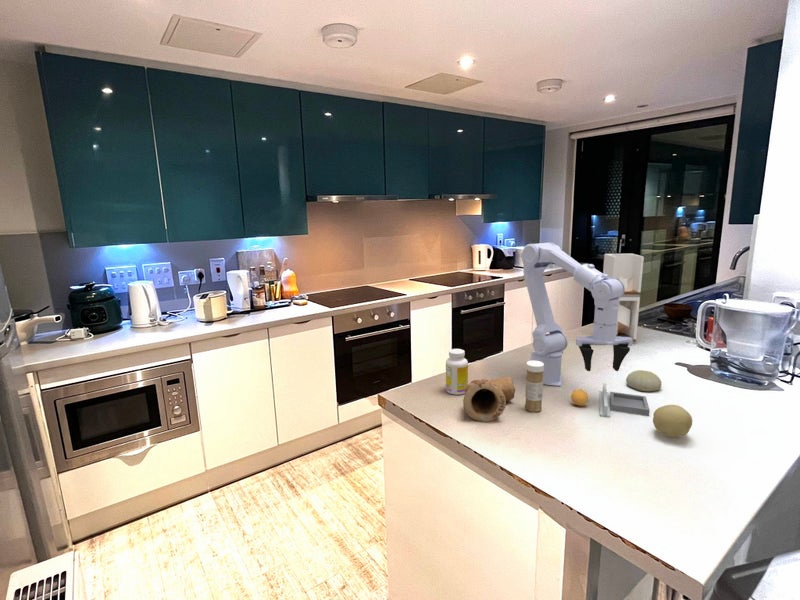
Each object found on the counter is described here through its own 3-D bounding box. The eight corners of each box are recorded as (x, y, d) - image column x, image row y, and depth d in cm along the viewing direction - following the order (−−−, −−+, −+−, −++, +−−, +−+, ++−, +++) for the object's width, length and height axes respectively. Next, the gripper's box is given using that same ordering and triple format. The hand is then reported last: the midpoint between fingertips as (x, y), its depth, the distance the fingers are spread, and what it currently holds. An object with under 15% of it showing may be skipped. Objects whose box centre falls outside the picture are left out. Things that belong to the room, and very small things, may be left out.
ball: (570, 407, 118) (571, 391, 117) (570, 400, 122) (571, 385, 121) (587, 409, 116) (588, 394, 115) (587, 402, 120) (588, 388, 119)
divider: (600, 416, 112) (601, 405, 112) (599, 392, 127) (600, 382, 126) (610, 417, 111) (611, 406, 111) (608, 393, 126) (609, 384, 125)
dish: (610, 410, 115) (611, 404, 115) (609, 397, 123) (610, 391, 123) (649, 416, 112) (649, 410, 111) (645, 401, 120) (645, 396, 119)
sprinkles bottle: (533, 403, 120) (535, 358, 117) (545, 410, 116) (547, 363, 113) (521, 407, 118) (522, 361, 116) (532, 414, 114) (534, 366, 112)
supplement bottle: (470, 388, 132) (470, 349, 129) (464, 397, 126) (464, 355, 123) (449, 385, 134) (449, 346, 132) (442, 393, 129) (442, 353, 126)
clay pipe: (451, 419, 120) (475, 427, 106) (445, 381, 121) (468, 385, 107) (508, 406, 126) (539, 413, 112) (502, 370, 127) (532, 372, 113)
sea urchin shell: (669, 388, 124) (650, 369, 124) (647, 404, 126) (628, 385, 126) (657, 376, 133) (639, 358, 133) (636, 392, 135) (618, 374, 135)
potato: (690, 448, 97) (695, 415, 95) (650, 439, 101) (654, 408, 99) (689, 433, 103) (693, 402, 101) (652, 425, 107) (655, 395, 105)
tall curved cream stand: (598, 335, 182) (604, 253, 175) (624, 336, 180) (632, 253, 173) (607, 343, 171) (614, 256, 164) (635, 344, 169) (643, 256, 162)
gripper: (583, 327, 112) (580, 375, 115) (640, 326, 112) (635, 375, 114) (574, 320, 119) (571, 365, 122) (627, 319, 118) (623, 365, 121)
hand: (601, 369), depth 119 cm, fingers open, 7 cm apart
